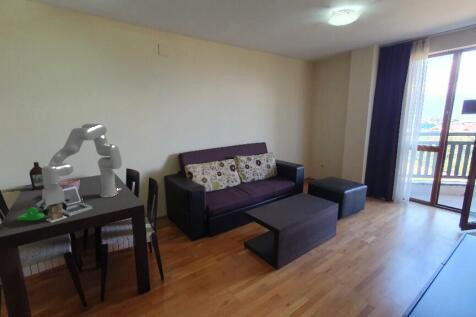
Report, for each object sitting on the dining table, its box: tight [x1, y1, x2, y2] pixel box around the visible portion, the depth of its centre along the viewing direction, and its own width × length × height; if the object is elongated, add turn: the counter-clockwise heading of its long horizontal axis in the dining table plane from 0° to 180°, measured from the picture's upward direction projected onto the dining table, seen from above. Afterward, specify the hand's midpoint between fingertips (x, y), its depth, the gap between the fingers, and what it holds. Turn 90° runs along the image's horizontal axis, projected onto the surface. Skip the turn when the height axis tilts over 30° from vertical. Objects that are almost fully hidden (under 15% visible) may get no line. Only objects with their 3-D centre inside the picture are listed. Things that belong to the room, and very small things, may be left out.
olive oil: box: [29, 161, 44, 191], centre depth 198 cm, size 11×11×25 cm
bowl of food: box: [59, 178, 81, 192], centre depth 184 cm, size 20×20×12 cm
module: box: [47, 204, 64, 220], centre depth 140 cm, size 5×5×9 cm
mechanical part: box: [16, 206, 46, 221], centre depth 141 cm, size 12×6×8 cm, turn 90°
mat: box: [45, 214, 68, 224], centre depth 140 cm, size 8×7×1 cm
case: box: [57, 186, 93, 217], centre depth 154 cm, size 15×20×14 cm
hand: (55, 212), depth 140 cm, fingers open, 9 cm apart
